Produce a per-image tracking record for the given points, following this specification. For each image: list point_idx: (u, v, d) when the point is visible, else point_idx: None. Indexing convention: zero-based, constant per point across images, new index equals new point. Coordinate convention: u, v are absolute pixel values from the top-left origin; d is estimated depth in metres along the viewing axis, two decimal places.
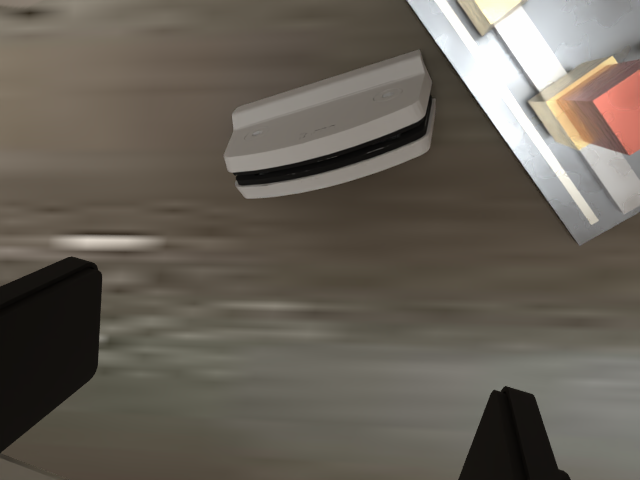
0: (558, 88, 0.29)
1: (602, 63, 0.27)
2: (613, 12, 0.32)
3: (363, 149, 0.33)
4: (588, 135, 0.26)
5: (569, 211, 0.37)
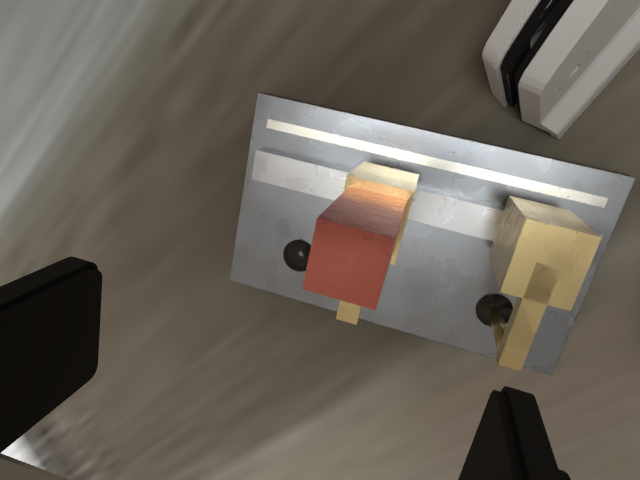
0: None
1: (396, 254, 0.25)
2: (410, 280, 0.33)
3: None
4: (355, 196, 0.23)
5: (294, 113, 0.32)
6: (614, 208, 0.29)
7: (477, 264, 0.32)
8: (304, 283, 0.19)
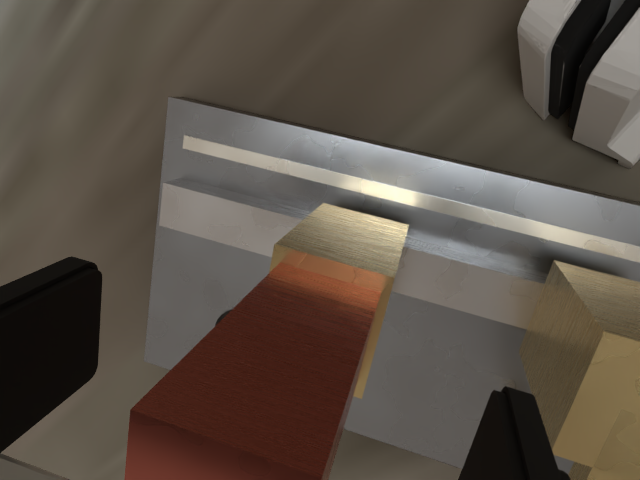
0: None
1: (365, 381, 0.14)
2: (399, 374, 0.22)
3: None
4: (278, 294, 0.12)
5: (222, 127, 0.21)
6: None
7: (499, 356, 0.21)
8: None
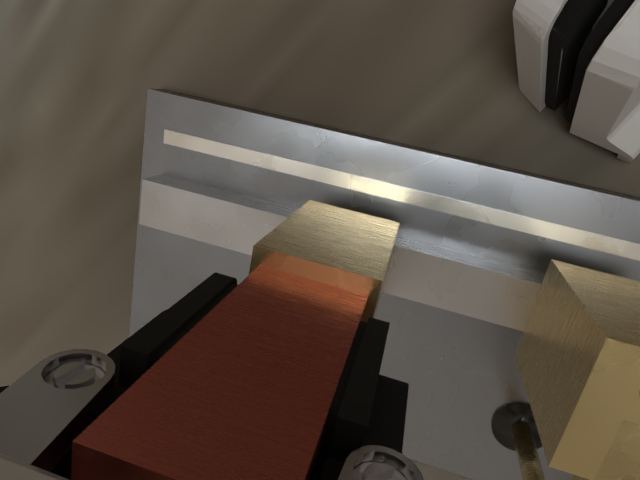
0: (379, 297, 0.14)
1: None
2: (391, 377, 0.22)
3: None
4: (256, 300, 0.11)
5: (205, 121, 0.20)
6: None
7: (494, 358, 0.20)
8: None
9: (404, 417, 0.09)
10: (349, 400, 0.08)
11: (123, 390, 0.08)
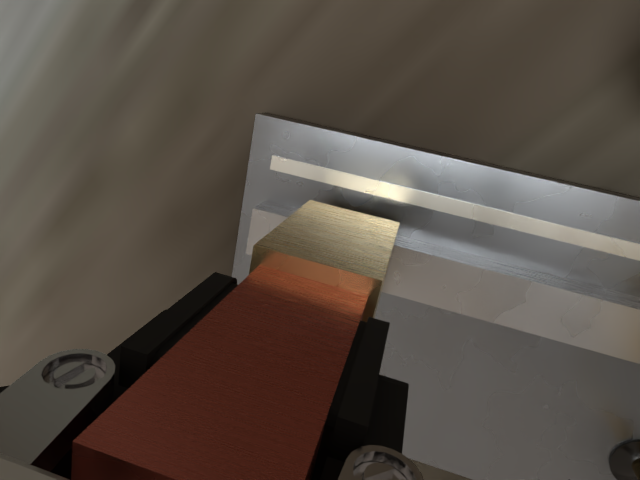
0: None
1: None
2: (502, 411, 0.21)
3: None
4: (256, 300, 0.11)
5: (316, 147, 0.19)
6: None
7: (618, 394, 0.19)
8: None
9: (404, 417, 0.09)
10: (349, 400, 0.08)
11: (123, 390, 0.08)
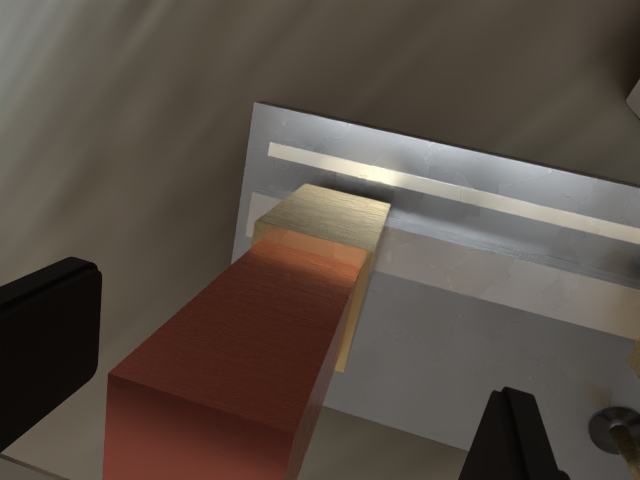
0: (371, 270, 0.15)
1: (346, 355, 0.14)
2: (488, 383, 0.22)
3: None
4: (258, 268, 0.12)
5: (312, 134, 0.20)
6: None
7: (596, 365, 0.21)
8: None
9: None
10: None
11: None
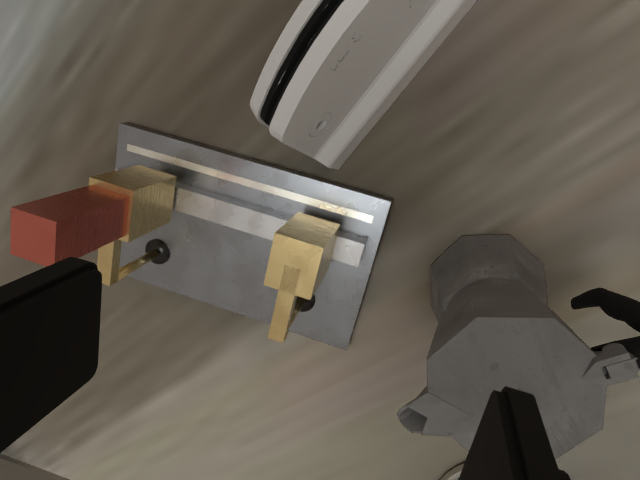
0: (146, 202, 0.36)
1: (128, 234, 0.35)
2: (240, 274, 0.42)
3: None
4: (81, 192, 0.32)
5: (147, 140, 0.41)
6: (378, 223, 0.38)
7: None
8: (11, 250, 0.28)
9: None
10: None
11: None
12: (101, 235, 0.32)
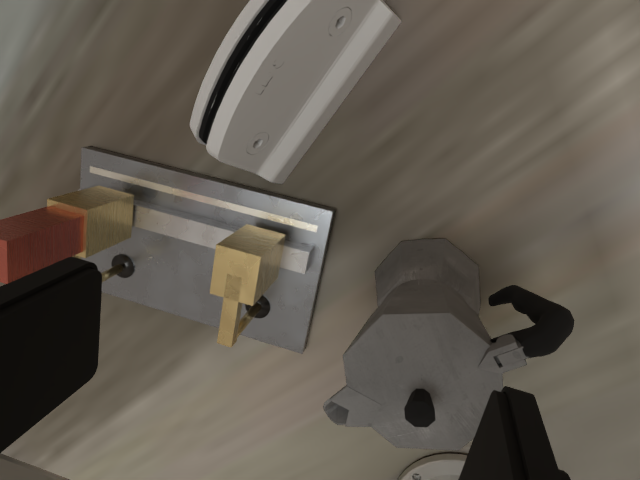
0: (102, 220, 0.38)
1: (85, 251, 0.37)
2: (200, 284, 0.45)
3: None
4: (37, 213, 0.35)
5: (108, 162, 0.44)
6: (323, 232, 0.41)
7: None
8: None
9: None
10: None
11: None
12: (56, 252, 0.34)
